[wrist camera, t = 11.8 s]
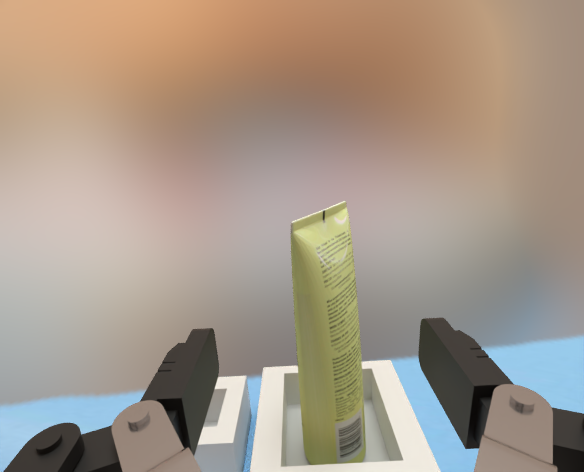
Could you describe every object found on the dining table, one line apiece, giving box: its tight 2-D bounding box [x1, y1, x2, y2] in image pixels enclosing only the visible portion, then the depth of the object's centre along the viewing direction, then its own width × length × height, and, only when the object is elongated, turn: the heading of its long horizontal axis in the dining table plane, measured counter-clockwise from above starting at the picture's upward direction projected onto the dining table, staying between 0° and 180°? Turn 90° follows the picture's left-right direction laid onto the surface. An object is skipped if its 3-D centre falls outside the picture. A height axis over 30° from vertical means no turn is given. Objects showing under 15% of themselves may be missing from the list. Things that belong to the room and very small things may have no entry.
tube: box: [291, 201, 366, 465], centre depth 24 cm, size 6×5×20 cm
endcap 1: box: [194, 376, 251, 472], centre depth 27 cm, size 7×7×4 cm
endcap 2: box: [250, 360, 440, 472], centre depth 26 cm, size 12×11×4 cm
